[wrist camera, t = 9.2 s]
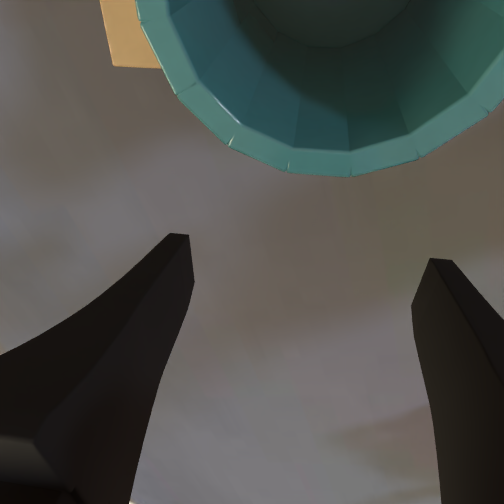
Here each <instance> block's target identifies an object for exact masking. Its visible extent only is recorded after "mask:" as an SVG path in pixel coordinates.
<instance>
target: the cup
mask: <svg viewBox="0 0 504 504" xmlns="http://www.w3.org/2000/svg"><path fill="white" fill-rule="evenodd" d="M135 4H136V11H137V17H138V20H139V21H141V23H140V26H141V29H142V31H143V33H144V35H145V37H146V39H147V41H148V43H149V45H150V47H151V48H152V50H153V52H154V54H155V56H156V58H157V60H158V62H159V64H160V66H161V68H162V70H163V72H164V74H165V76H166V78H167V80H168V82H169V84H170V86H171V88H172V90H173V92H174V94H175V95H178V96H177V98H178V99H179V100H180V101H181V102H182V103H183V104H184V105H185V106H186V107H187V108H188V109H189V110H190V111H191V112H192V113H193V114H194V115H195V116H196V117H197V118H198V119H199V120H200V121H201V122H202V123H203V124H204V125H205V126H206V127H207V128H208V129H209V130H210V131H211V132H213V133H214V134H215V135H216V136H217V137H218V138H219V139H220V140H221V141H222V142H223V143H224V144H225V145H227V144H228V147H230V148H232V149H234V150H236V151H238V152H241V153H243V154H245V155H247V156H249V157H252V158H254V159H256V160H258V161H261V162H263V163H265V164H267V165H269V166H272V167H274V168H276V169H278V170H280V171H283V172H285V171H287V172H288V173H295V174H308V175H322V176H335V177H350V176H352V177H355V176H359V175H363V174H367V173H370V172H374V171H378V170H382V169H385V168H389V167H393V166H397V165H400V164H404V163H408V162H412V161H415V160H418V159H419V157H420V158H422V157H424V156H426V155H427V154H429V153H431V152H432V151H434V150H435V149H437V148H438V147H440V146H442V145H443V144H445V143H446V142H448V141H449V140H451V139H452V138H454V137H456V136H457V135H459V134H460V133H462V132H463V131H465V130H466V129H468V128H470V127H471V126H473V125H474V124H476V123H477V122H479V121H481V120H482V119H484V118H485V117H487V116H488V112H492V111H494V109H495V108H496V107H497V106H498V105H499V104H500V102H501V101H502V100H503V99H504V0H135Z"/></svg>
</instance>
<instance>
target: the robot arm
mask: <svg viewBox="0 0 504 504" xmlns="http://www.w3.org/2000/svg"><path fill="white" fill-rule="evenodd" d="M194 282H195V281H194V273H193V265H192V256H191V248H190V239H189V235H186V234H175V233H169V234H168V235H167V236H166V237H165V238H164V239H163V240H162V241H161V242H160V243H159V244H157V245H156V246H155V247H154V248H153V249H152V250H151V251H150V252H149V253H148V254H147V255H146V256H145V257H144V258H143V259H142V260H141V261H140V262H139V263H137V264H136V265H135V266H134V267H133V268H132V269H131V270H130V271H129V272H128V273H126V274H125V275H124V276H123V277H122V278H121V279H120V280H118V281H117V282H116V283H115V284H113V285H112V286H111V287H110V288H109V289H107V290H106V291H105V292H104V293H103V294H101V295H100V296H99V297H97V298H96V299H95V300H93V301H92V302H91V303H89V304H88V305H87V306H85V307H84V308H82V309H81V310H79V311H78V312H76V313H75V314H73V315H72V316H70V317H69V318H67V319H66V320H64V321H62V322H61V323H59V324H57V325H56V326H54V327H52V328H51V329H49V330H47V331H45V332H44V333H42V334H40V335H39V336H37V337H35V338H33V339H31V340H30V341H28V342H26V343H24V344H22V345H20V346H18V347H16V348H14V349H12V350H10V351H8V352H6V353H4V354H2V355H0V504H129V501H130V497H131V492H132V488H133V483H134V479H135V474H136V470H137V466H138V462H139V458H140V454H141V450H142V445H143V441H144V438H145V434H146V430H147V426H148V422H149V418H150V415H151V411H152V407H153V404H154V400H155V397H156V393H157V390H158V386H159V383H160V380H161V377H162V374H163V371H164V369H165V366H166V364H167V361H168V359H169V356H170V353H171V351H172V348H173V346H174V343H175V341H176V338H177V336H178V333H179V331H180V328H181V326H182V323H183V321H184V318H185V315H186V313H187V310H188V306H189V303H190V299H191V295H192V291H193V287H194ZM411 309H412V322H413V332H414V339H415V343H416V348H417V352H418V357H419V361H420V365H421V370H422V374H423V378H424V382H425V386H426V391H427V395H428V399H429V403H430V408H431V414H432V419H433V426H434V434H435V443H436V451H437V460H438V470H439V480H440V491H441V504H504V320H503V319H502V318H501V317H500V315H499V314H498V313H497V312H496V311H495V310H494V309H493V308H492V307H491V305H490V304H489V303H488V302H487V301H486V300H485V299H484V297H483V296H482V295H481V294H480V293H479V292H478V290H477V289H476V288H475V287H474V286H473V284H472V283H471V282H470V281H469V280H468V279H467V277H466V276H465V275H464V274H463V273H462V271H461V270H460V269H459V268H458V267H457V265H456V264H455V263H454V262H453V261H452V260H446V259H436V258H430V259H429V261H428V264H427V267H426V269H425V272H424V274H423V277H422V279H421V282H420V284H419V287H418V289H417V292H416V294H415V297H414V300H413V302H412V305H411Z"/></svg>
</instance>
